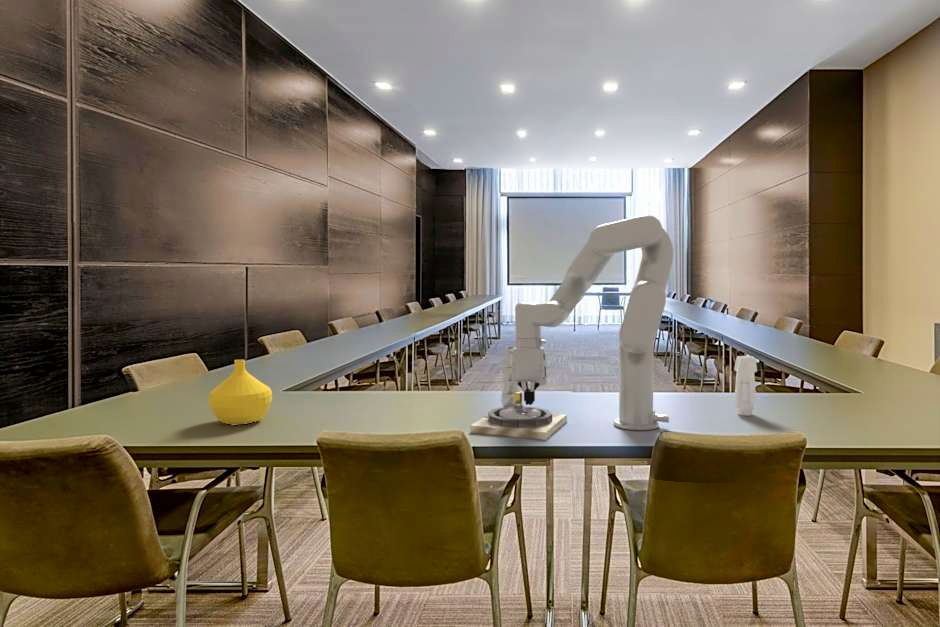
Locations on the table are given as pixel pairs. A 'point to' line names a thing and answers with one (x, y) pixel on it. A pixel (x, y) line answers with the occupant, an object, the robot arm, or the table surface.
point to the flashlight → (745, 384)
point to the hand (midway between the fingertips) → (529, 403)
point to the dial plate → (520, 431)
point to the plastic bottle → (508, 379)
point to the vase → (240, 397)
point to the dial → (519, 410)
